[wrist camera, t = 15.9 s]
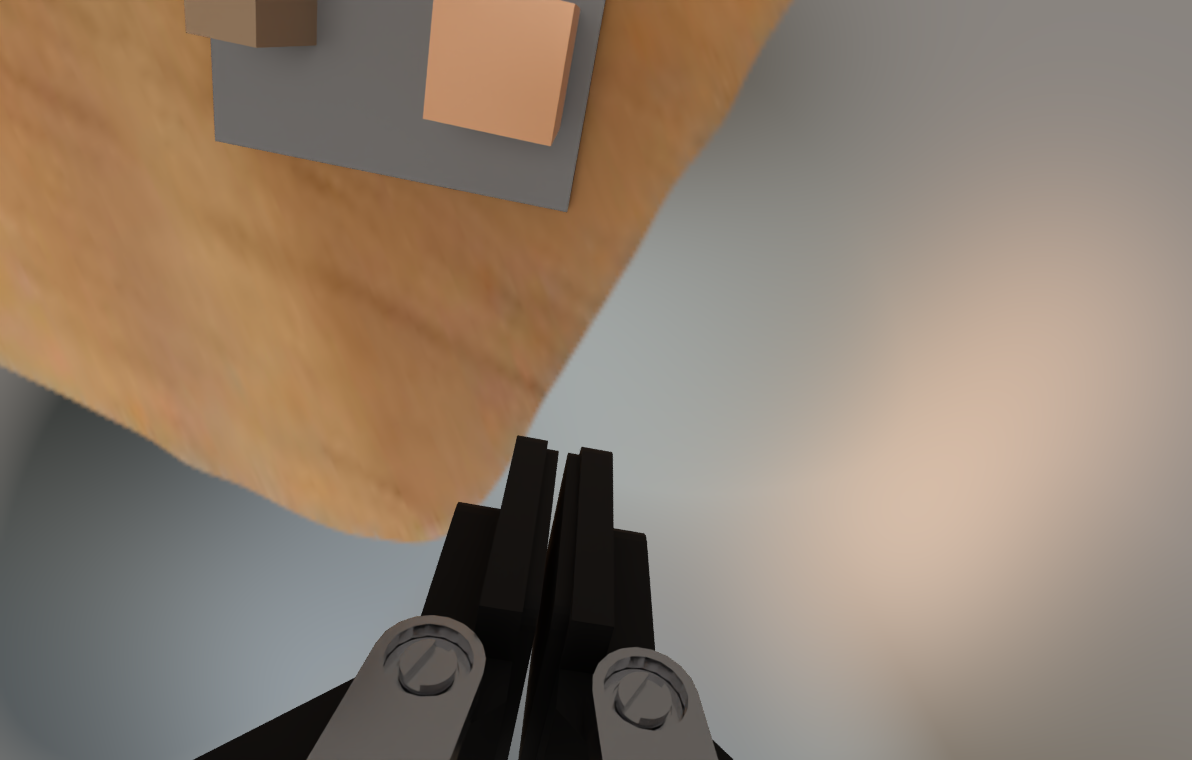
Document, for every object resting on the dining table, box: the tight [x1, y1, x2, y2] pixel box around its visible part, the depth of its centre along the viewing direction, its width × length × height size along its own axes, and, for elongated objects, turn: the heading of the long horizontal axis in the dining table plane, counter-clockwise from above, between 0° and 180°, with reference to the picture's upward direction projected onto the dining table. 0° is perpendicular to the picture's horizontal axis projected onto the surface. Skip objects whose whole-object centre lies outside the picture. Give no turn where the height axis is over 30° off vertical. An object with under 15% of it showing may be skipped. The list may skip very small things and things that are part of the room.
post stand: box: [184, 0, 605, 212], centre depth 34 cm, size 15×20×8 cm
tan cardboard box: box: [423, 0, 581, 146], centre depth 33 cm, size 6×6×7 cm
